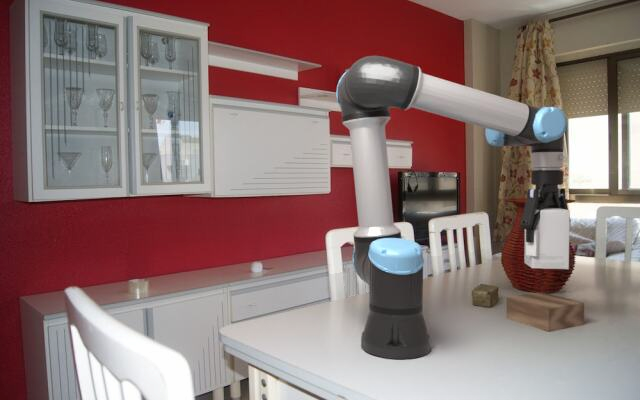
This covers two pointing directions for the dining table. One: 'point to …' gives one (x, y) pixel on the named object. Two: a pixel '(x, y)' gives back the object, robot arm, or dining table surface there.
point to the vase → (520, 271)
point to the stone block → (485, 295)
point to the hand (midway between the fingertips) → (545, 253)
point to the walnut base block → (545, 311)
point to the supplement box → (551, 240)
